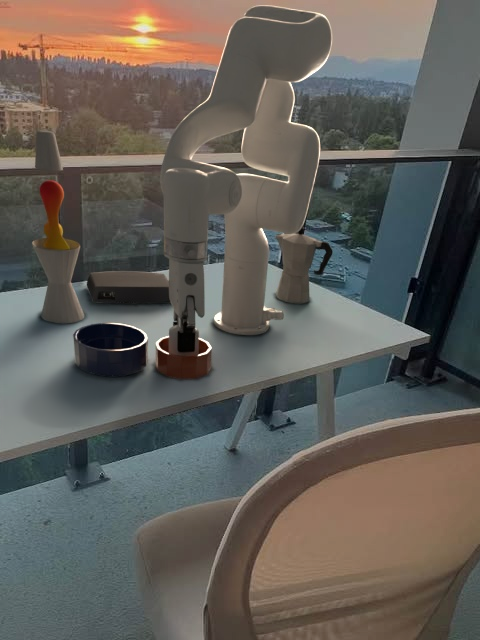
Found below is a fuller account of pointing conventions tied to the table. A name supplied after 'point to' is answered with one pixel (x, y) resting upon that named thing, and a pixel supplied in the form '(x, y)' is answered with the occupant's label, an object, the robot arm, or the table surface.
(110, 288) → the hard drive
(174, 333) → the eye dropper bottle
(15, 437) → the table surface
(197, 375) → the brown round container
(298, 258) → the coffeepot
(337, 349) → the table surface
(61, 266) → the lava lamp
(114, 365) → the bowl
